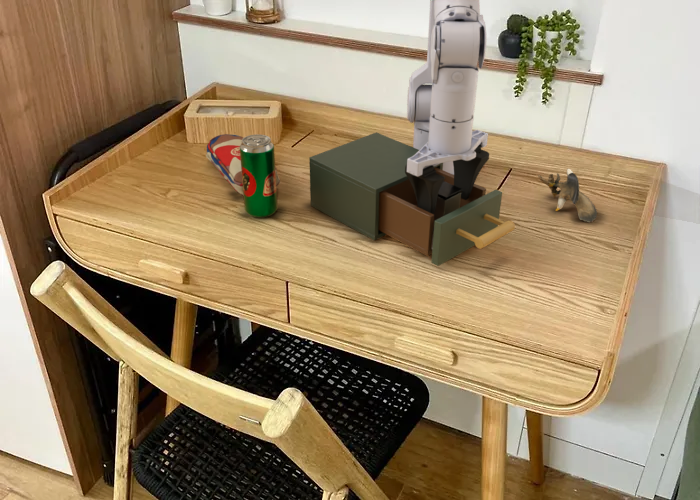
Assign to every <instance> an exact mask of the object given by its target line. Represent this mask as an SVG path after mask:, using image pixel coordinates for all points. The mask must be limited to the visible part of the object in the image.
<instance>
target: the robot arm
mask: <svg viewBox="0 0 700 500" xmlns="http://www.w3.org/2000/svg"><path fill="white" fill-rule="evenodd" d="M428 15H429V17H428V34H427V51H426V52H427V53H426V55H427V56H426V62H425V63H424V64H423V65H421V66H419V68H417V69H415V70H414V71H413V72H412V73H411V74H410V77H409V78H408V86H407V87H408V88H407V98H406V99H407V100H406V101H407V102H406V118H407V120H408V121H409V123H410V124H413V142H412V143H413V144H412V147H413V148H416V149H418V150H419V151H418V152H417V153H416V154H415V155H414V156H412V157H410V158H408V159H407V165H406V166H405V174H406V175H407V177H408V179H409V180H410V182H411V184H412V187H413V189H414V192H415V195H416V199H417V204H418V207H419V208H421V209H423V210H425V211H427V212H429V213H432V214H434V213H435V209H436V202H437V196H438V193H439V190H440V187H441V185H442V183H443V181H444V179H445V177H444V176H442V175H439V174H437V173H436V170H434V166H436V165H438V164H440V163H443V171H446V172H448V173H450V174H453V175H454V186H456V187H459V188H461V189H463V190H462V193H461V199H464V200H467V199H468V198H469V196H470V193H471V191H472V188H473V185H474V184H476V181H477V178H478V176H479V174H480V173H481V170H482V169H483V167H484V166H485V165H486V163H487V162H488V161H489V159H490V152H488V151H487V150H484V149H483V148H486V147H487V146H488V139H489V133H488V132H485V131H482V130H480V129H475V130H473V129H474V119H475V110H476V109H475V108H476V98H477V89H478V79H479V69H480V70H481V69H482V68H483V66H484V62H485V59H486V52H487V40H488V39H487V36H488V35H487V28H486V22H485V20H484V15H483V14H481V8H480V0H429V14H428Z"/></svg>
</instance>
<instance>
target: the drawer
mask: <svg viewBox="0 0 700 500" xmlns="http://www.w3.org/2000/svg"><path fill="white" fill-rule="evenodd" d="M434 170H436V173H437V174H439V175H442V176H444V177H445V179H444V181H445V182H447V183H449V184H452V185H454V175H453V174H450V173H448V172H446V171H443V170H441V169H439V168H436V167H435V168H434ZM502 197H503V191H500V190H498V189H494V190H492V191H490V192H488V193H487V188H486V187H483V186H481V185H479V184H476V183H474V185H473V188H472V191H471V193H470V196H469V198H468V199H467V200H464V199H460V208H459V209H457V210H455V211H453V212H451V213H449V214H447V215H445V216H443V217H441V218H439V219H437V220H435V224H434V214H432V213H429V212H427V211H425V210H423V209H421V208H419V207H418V204H417V199H416V195H415V192H414V189H413V187H412V184H411V182H410V180H409V179H408V180H406V181H403V182H401V183H399V184H397V185H394V186H392V187H390V188H388V189H385V190H383V191H381V192H379V220H378V230H379V231H381V232H383V233H385V234H387V235H386V236H389V237H390V238H392V239H395V240H396V241H398V242H400V243H402V244H403V245H405V246H407V247H409V248H411V249H413V250H414V251H417V252H419V253H421V254H423V255H425V256H426V257H428V256H430V255H431V262H430V263H431V264H432V265H435V266H436V267H440V266H442V265H443V264H445V263H447V262H448V261H450V260H451V259H453V258H455V257H458V255H460V254H462V253H464V252H466V251H468V250H469V249H471V248H473V247H474V246H475V247H476V248H477V249H480V250H482V249H484V248H485V247H487V246H489V245H490V244H492V243H494V242H496V241H497V240H499V239H501V238H502V237H505V236H507V234H509V233H512V231H514V230H515V229H516V225H515V222H513V221H512V220H506V221H504V220H502V219H500V214H501V206H502V199H503V198H502ZM433 224H434V233H433Z"/></svg>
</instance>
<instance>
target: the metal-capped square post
mask: <svg viewBox="0 0 700 500" xmlns="http://www.w3.org/2000/svg"><path fill="white" fill-rule="evenodd" d="M462 190H463V189H461V188H459V187H456V186H454V185H452V184H449V183H447V182H445V181H443V183H442V185H441V187H440V190H439V193H438V196H437V202H436V209H435V213H434V224H435V220H437V219H439V218H441V217H443V216H445V215H447V214H449V213H451V212H453V211H455V210H457V209H459V208H460V199H461V193H462ZM434 224H433V233H434Z"/></svg>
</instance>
